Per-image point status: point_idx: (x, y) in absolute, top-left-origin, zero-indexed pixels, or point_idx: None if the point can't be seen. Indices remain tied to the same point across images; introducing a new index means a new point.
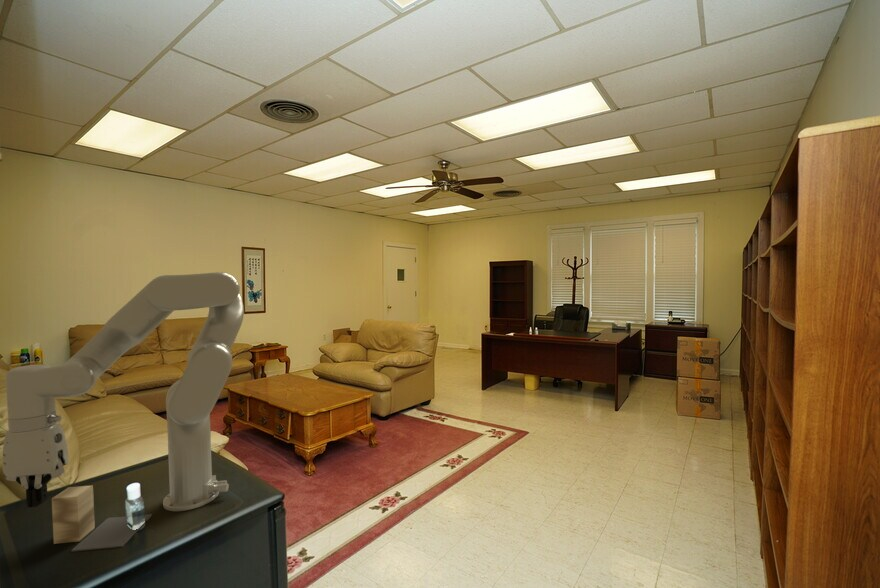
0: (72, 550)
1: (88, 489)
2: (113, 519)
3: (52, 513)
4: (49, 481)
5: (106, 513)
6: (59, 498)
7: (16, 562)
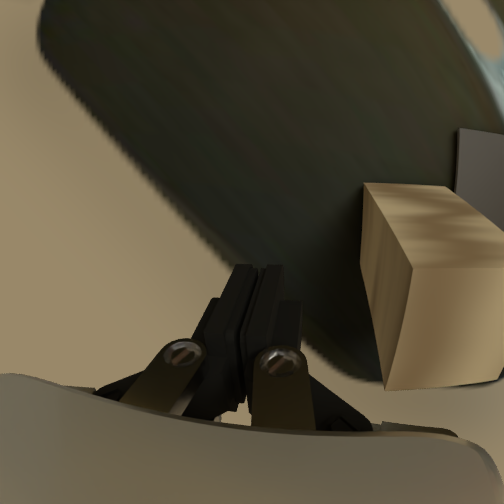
0: None
1: None
2: (483, 147)
3: (375, 334)
4: (305, 361)
5: (419, 67)
6: (422, 385)
7: (304, 325)
